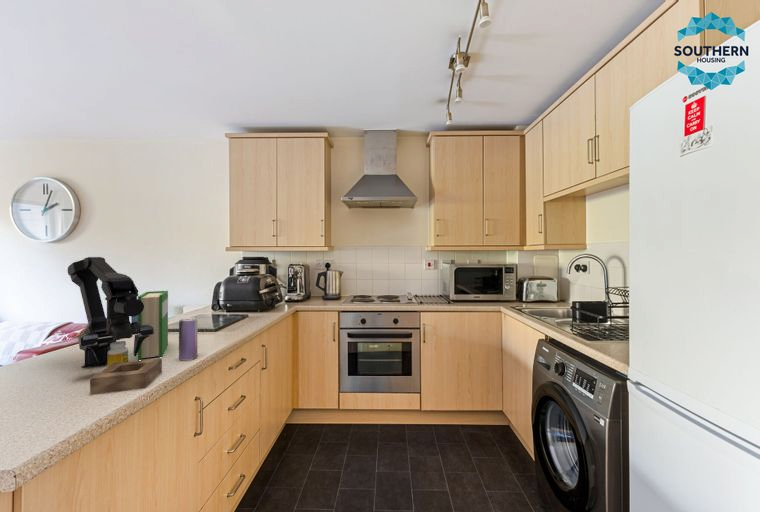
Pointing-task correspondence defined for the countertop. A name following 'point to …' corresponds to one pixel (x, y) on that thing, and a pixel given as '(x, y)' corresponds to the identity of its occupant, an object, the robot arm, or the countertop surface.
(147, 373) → the well block
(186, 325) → the beverage can
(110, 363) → the supplement bottle
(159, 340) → the hardback book
